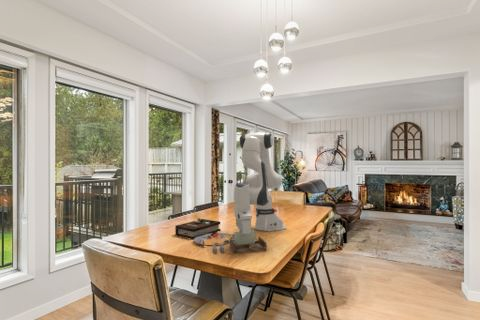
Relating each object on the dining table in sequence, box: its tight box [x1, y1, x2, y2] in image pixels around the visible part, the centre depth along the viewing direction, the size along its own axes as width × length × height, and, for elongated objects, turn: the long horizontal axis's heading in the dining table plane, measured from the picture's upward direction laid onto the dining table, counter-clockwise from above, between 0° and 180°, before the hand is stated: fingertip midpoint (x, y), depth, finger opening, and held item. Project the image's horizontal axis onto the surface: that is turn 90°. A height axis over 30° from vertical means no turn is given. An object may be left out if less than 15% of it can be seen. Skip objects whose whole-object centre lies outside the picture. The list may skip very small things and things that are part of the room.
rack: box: [229, 236, 267, 255], centre depth 145 cm, size 17×12×5 cm
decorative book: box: [174, 217, 221, 240], centre depth 183 cm, size 19×8×30 cm
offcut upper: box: [250, 244, 261, 248], centre depth 144 cm, size 4×3×1 cm
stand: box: [212, 243, 226, 255], centre depth 142 cm, size 7×8×4 cm
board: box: [233, 229, 256, 245], centre depth 148 cm, size 11×2×7 cm, turn 102°
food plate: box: [193, 232, 234, 246], centre depth 163 cm, size 25×23×4 cm
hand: (242, 238), depth 148 cm, fingers closed on board, 2 cm apart
